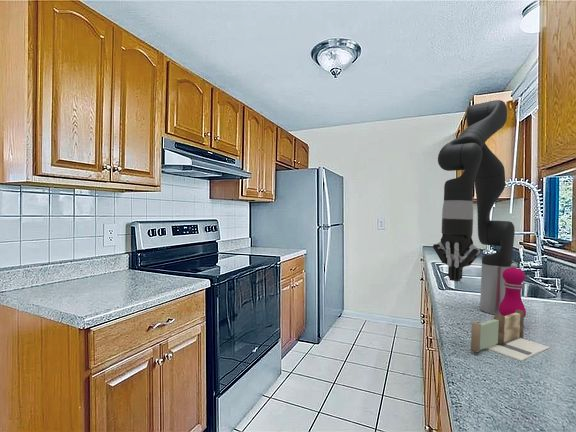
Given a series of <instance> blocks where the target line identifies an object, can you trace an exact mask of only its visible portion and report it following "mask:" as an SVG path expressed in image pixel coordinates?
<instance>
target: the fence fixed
mask: <svg viewBox="0 0 576 432" xmlns="http://www.w3.org/2000/svg"><path fill="white" fill-rule="evenodd" d="M493 315H494V316H493V317H494V318H493V319H495V320H499V329H498V344H499V345H504V342H507V341H509V340H512V339H514V338H517V337H519V338H522V339H524V327H523V324H524V321H525V317H524V311H522V310H516V312H515V313H513V314H510V315H506V316H502V315H496V314H493Z"/></svg>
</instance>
